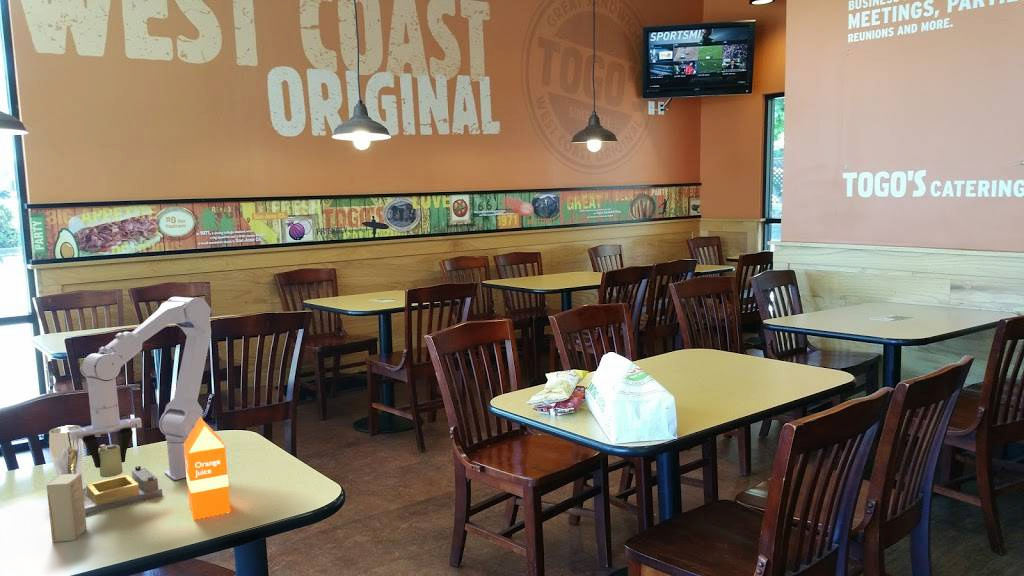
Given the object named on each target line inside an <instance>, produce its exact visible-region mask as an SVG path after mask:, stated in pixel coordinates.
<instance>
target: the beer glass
mask: <svg viewBox="0 0 1024 576" xmlns="http://www.w3.org/2000/svg"><path fill="white" fill-rule="evenodd" d="M80 428H82V427H81V426H80V425H64V426H63V425H62V426H58V427H54V428H51V429H50V430H49V431H48V435H49V436H48V437H49V438H48V442H49V453H50V458H51V461H52V464H53V467H54V470H55V474H56V477H57V476H59V475H60V474H76V473H81V477H82V487H83V491H84V490H86V483H85V480H84V479H85V478H84V475H83V465H84V464H83V463H84V454H85V453H84V451H85V450H84V449H85V448H84V442H83V440H82V439H78V440H75V441H72V440H71V439H70V431H72V430H76V429H80Z"/></svg>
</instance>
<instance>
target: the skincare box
mask: <svg viewBox="0 0 1024 576" xmlns="http://www.w3.org/2000/svg"><path fill="white" fill-rule="evenodd" d="M46 492H47V493H46V494H47V503H48V505H47V506H48V515H49V522H50V523H49V524H50V531H51V540H52V541H51V542H52V543H55V542H56V543H59V542H70V541H71V542H72V541H75V540H76V539H77V538H78V537H79V536H81V535H82V533H83V532H85V530H87V518H86V515H85V507H84V497H83V492H84V490H83V487H82V477H81V473H76V474H60V475H59V476H57V475H56V477H55V478H53V479H51V481H50V482H48V483H47V484H46Z"/></svg>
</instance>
